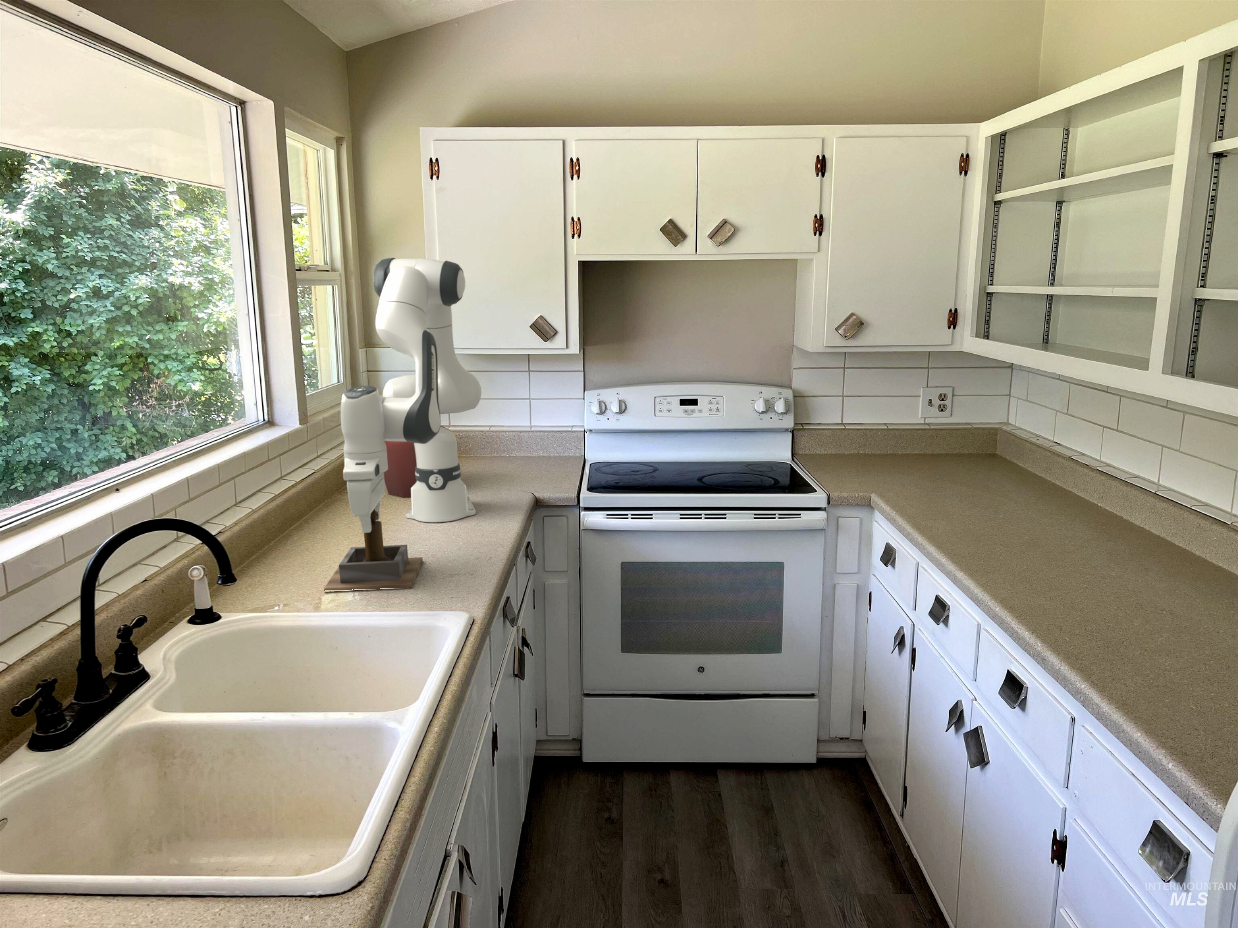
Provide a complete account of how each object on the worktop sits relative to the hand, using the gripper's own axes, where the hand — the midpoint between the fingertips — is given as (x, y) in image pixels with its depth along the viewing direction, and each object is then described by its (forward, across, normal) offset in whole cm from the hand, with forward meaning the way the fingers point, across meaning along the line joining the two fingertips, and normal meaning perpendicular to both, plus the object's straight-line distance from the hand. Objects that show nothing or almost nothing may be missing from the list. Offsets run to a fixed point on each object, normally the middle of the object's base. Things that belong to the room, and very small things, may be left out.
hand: (371, 525), depth 191 cm
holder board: (+12, 0, 0) cm, 12 cm away
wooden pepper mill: (+11, 0, 0) cm, 11 cm away
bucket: (+12, -78, -2) cm, 79 cm away
